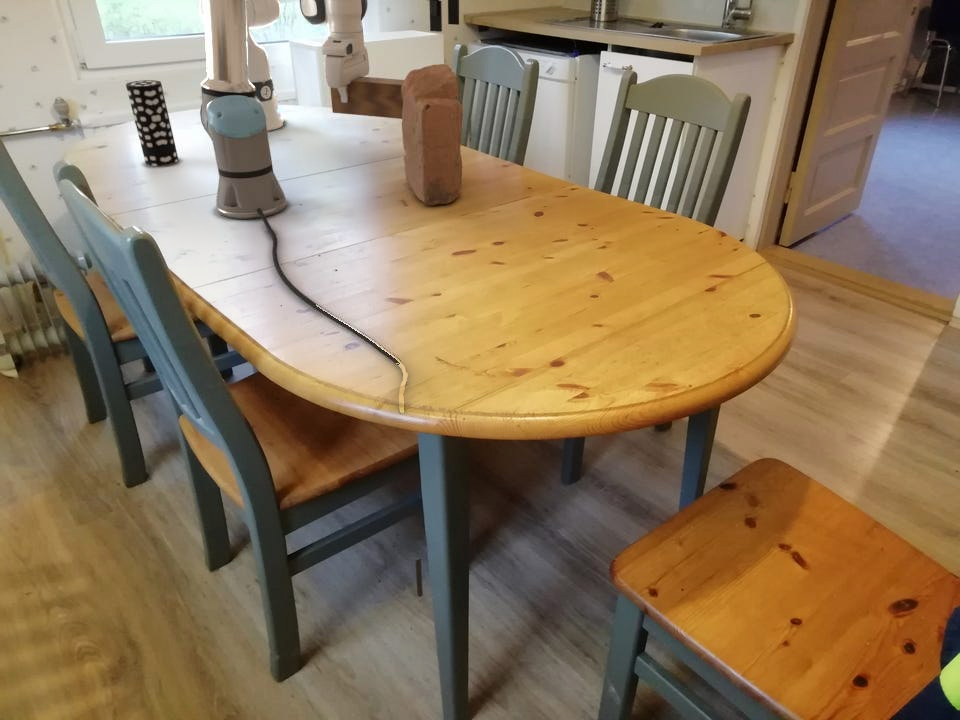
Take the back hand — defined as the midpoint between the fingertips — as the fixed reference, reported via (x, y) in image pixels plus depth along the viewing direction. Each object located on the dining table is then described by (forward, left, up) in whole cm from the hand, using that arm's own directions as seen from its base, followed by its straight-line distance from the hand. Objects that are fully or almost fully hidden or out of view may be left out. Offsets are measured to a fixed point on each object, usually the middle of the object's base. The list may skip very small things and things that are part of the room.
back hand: (351, 99), depth 185 cm
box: (+7, +3, -3) cm, 8 cm away
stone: (+36, -9, -15) cm, 40 cm away
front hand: (+24, +11, +18) cm, 32 cm away
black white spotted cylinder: (-36, -37, -5) cm, 52 cm away
